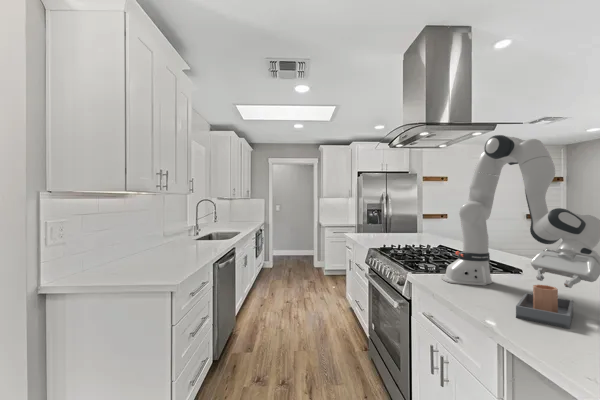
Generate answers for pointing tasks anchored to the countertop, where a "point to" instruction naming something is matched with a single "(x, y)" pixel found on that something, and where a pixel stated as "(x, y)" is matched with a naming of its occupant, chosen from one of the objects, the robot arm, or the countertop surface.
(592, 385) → the countertop surface
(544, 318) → the tray
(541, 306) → the cup
